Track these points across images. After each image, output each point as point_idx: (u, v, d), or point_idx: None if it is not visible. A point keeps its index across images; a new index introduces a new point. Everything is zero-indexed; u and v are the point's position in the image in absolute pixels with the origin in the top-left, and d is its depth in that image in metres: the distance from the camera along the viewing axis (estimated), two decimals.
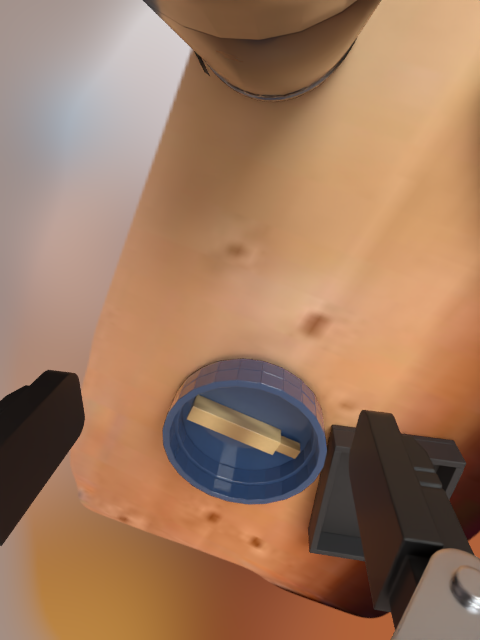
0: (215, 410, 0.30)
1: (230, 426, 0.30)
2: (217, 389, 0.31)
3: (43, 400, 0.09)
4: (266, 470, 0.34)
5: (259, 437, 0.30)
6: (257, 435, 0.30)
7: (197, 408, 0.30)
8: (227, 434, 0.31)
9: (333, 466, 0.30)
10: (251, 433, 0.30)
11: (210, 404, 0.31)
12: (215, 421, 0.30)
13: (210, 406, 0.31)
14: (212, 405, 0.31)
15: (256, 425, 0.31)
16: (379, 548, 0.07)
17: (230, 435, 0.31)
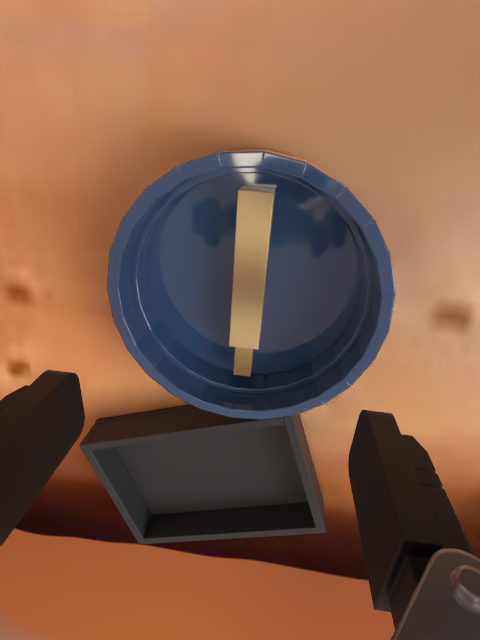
0: (269, 233, 0.17)
1: (257, 269, 0.17)
2: (299, 220, 0.18)
3: (43, 400, 0.09)
4: (175, 341, 0.21)
5: (254, 319, 0.19)
6: (257, 314, 0.18)
7: (271, 202, 0.16)
8: (237, 270, 0.18)
9: (255, 423, 0.21)
10: (257, 305, 0.18)
11: None
12: (257, 243, 0.17)
13: None
14: (271, 223, 0.17)
15: (263, 303, 0.19)
16: (379, 548, 0.07)
17: (237, 275, 0.18)
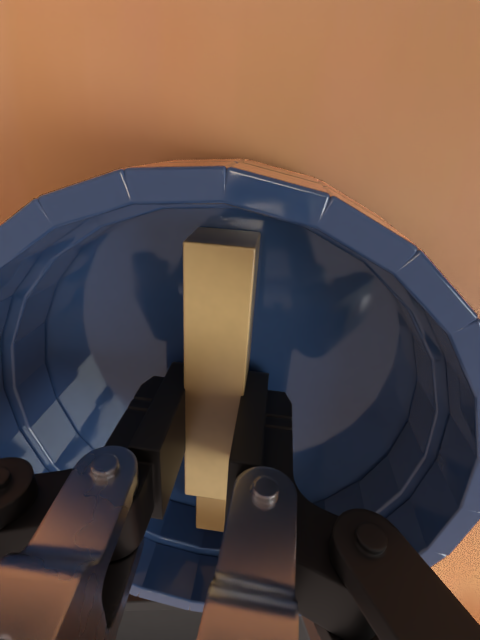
0: (250, 316, 0.09)
1: (227, 383, 0.09)
2: (305, 288, 0.10)
3: (184, 388, 0.10)
4: None
5: (226, 458, 0.10)
6: None
7: (251, 266, 0.08)
8: (191, 382, 0.09)
9: None
10: (230, 438, 0.10)
11: (254, 290, 0.09)
12: (226, 338, 0.09)
13: (254, 295, 0.09)
14: (254, 297, 0.09)
15: None
16: None
17: (192, 391, 0.10)
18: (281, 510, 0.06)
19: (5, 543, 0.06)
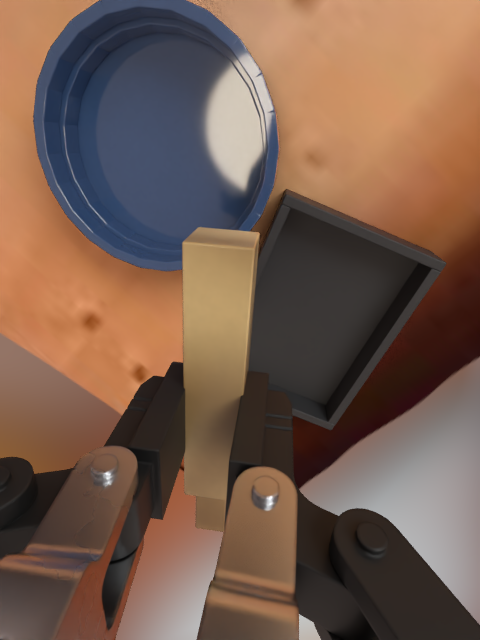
0: (249, 317, 0.09)
1: (226, 383, 0.09)
2: (140, 72, 0.20)
3: (184, 388, 0.10)
4: (179, 245, 0.24)
5: (226, 458, 0.10)
6: None
7: (251, 267, 0.08)
8: (191, 382, 0.09)
9: (273, 232, 0.21)
10: (230, 438, 0.10)
11: (254, 290, 0.09)
12: (226, 338, 0.09)
13: (253, 295, 0.09)
14: (253, 297, 0.09)
15: None
16: None
17: (191, 391, 0.10)
18: (281, 510, 0.06)
19: (5, 543, 0.06)
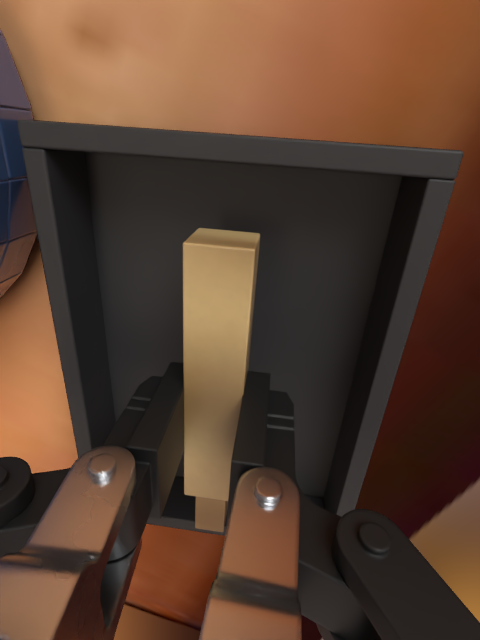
0: None
1: (226, 383, 0.09)
2: None
3: (182, 388, 0.10)
4: None
5: (225, 459, 0.10)
6: (231, 452, 0.10)
7: (251, 268, 0.08)
8: (191, 383, 0.09)
9: (41, 217, 0.10)
10: (230, 438, 0.10)
11: (254, 291, 0.09)
12: (226, 339, 0.09)
13: (253, 296, 0.09)
14: (253, 298, 0.09)
15: None
16: None
17: (191, 391, 0.10)
18: (284, 510, 0.06)
19: (3, 542, 0.06)
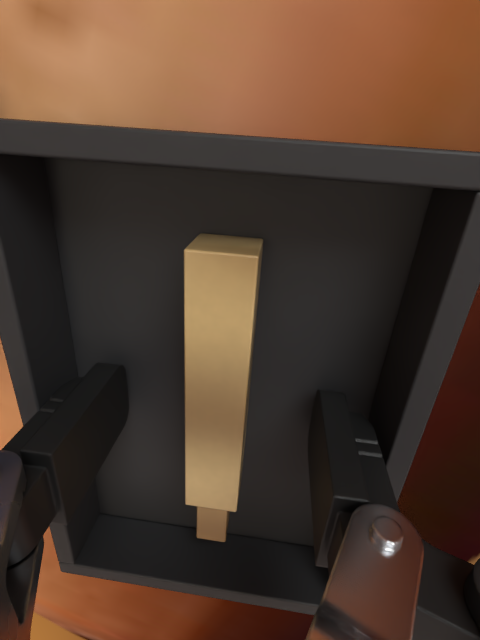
0: (253, 325, 0.09)
1: (229, 393, 0.09)
2: None
3: (100, 389, 0.09)
4: None
5: (228, 468, 0.10)
6: (233, 462, 0.10)
7: (254, 275, 0.08)
8: (192, 392, 0.09)
9: None
10: (232, 448, 0.10)
11: (257, 298, 0.09)
12: (228, 348, 0.09)
13: (256, 303, 0.09)
14: (256, 305, 0.09)
15: (244, 434, 0.11)
16: (320, 510, 0.08)
17: (193, 400, 0.09)
18: (410, 557, 0.06)
19: None
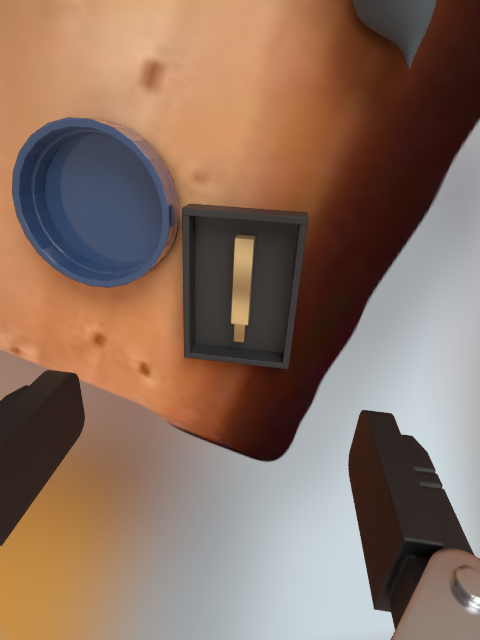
0: None
1: (246, 279, 0.32)
2: (72, 164, 0.31)
3: (43, 400, 0.09)
4: (134, 265, 0.34)
5: (245, 307, 0.33)
6: (247, 304, 0.33)
7: (252, 244, 0.31)
8: (235, 280, 0.32)
9: (185, 235, 0.31)
10: (246, 299, 0.33)
11: (253, 252, 0.32)
12: (246, 265, 0.31)
13: (253, 253, 0.32)
14: (253, 254, 0.32)
15: (250, 298, 0.34)
16: (379, 548, 0.07)
17: (235, 282, 0.32)
18: None
19: None
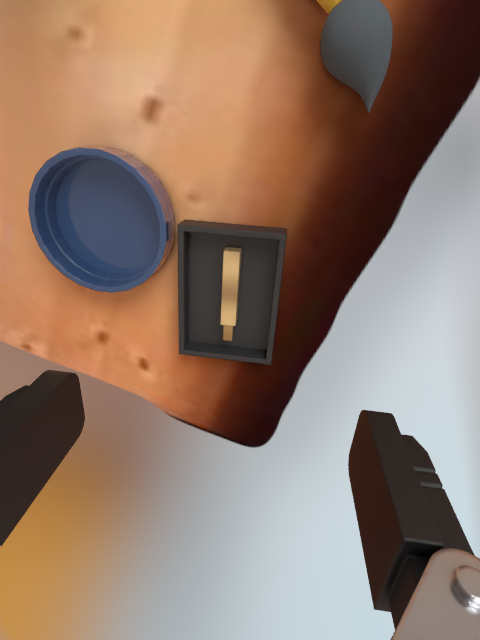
0: (239, 269, 0.36)
1: (233, 286, 0.36)
2: (81, 184, 0.35)
3: (43, 400, 0.09)
4: (135, 272, 0.39)
5: (233, 310, 0.38)
6: (234, 308, 0.37)
7: (239, 256, 0.35)
8: (224, 286, 0.37)
9: (180, 248, 0.35)
10: (234, 303, 0.37)
11: (240, 262, 0.36)
12: (233, 274, 0.36)
13: (240, 264, 0.36)
14: (240, 264, 0.36)
15: (237, 303, 0.38)
16: (379, 548, 0.07)
17: (224, 289, 0.37)
18: None
19: None
